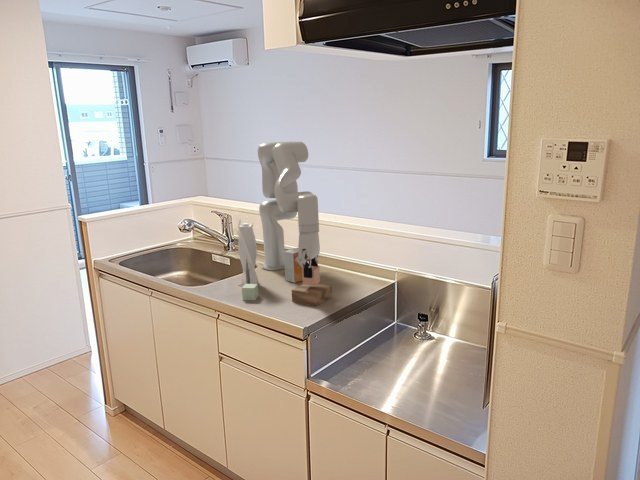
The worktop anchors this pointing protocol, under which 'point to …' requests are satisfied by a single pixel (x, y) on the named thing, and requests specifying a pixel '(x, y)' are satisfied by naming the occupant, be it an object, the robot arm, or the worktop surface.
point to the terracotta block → (315, 276)
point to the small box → (293, 265)
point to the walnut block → (312, 294)
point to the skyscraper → (247, 253)
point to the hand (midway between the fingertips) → (311, 274)
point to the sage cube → (250, 291)
